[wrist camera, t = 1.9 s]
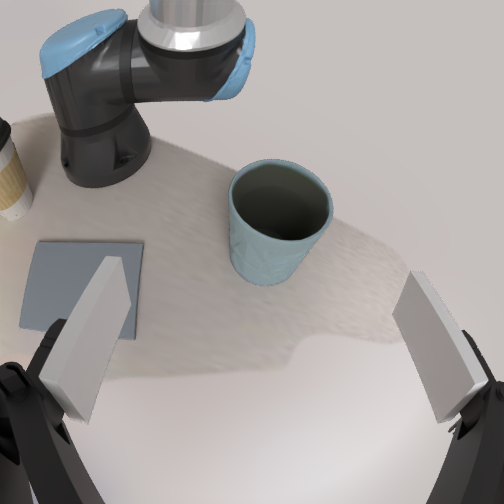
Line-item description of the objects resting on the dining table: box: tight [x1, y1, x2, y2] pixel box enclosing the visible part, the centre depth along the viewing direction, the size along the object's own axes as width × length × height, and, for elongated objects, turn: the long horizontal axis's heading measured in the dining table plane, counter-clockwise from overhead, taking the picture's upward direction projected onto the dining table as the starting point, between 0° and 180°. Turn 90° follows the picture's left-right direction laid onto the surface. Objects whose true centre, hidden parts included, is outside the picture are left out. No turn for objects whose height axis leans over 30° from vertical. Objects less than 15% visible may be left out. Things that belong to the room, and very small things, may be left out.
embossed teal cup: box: [228, 159, 333, 286], centre depth 34 cm, size 10×10×12 cm
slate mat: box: [19, 242, 143, 340], centre depth 33 cm, size 12×16×1 cm
